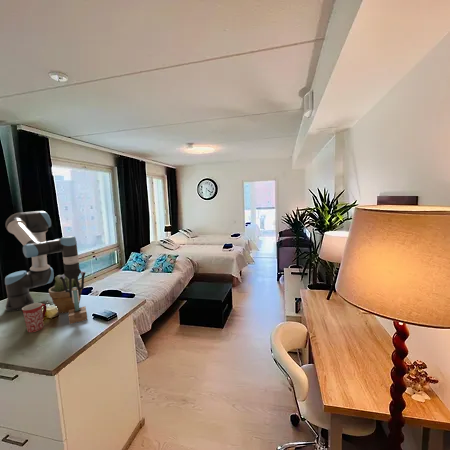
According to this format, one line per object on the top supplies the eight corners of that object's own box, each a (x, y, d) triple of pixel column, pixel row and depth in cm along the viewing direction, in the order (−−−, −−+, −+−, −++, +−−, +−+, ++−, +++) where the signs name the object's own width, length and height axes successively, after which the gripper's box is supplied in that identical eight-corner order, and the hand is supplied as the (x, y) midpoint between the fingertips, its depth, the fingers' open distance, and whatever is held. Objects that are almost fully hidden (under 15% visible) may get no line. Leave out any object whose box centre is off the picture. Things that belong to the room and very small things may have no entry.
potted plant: (66, 317, 155) (61, 278, 152) (44, 314, 161) (38, 276, 158) (90, 304, 172) (86, 268, 169) (70, 302, 178) (65, 267, 175)
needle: (75, 310, 153) (72, 287, 151) (79, 308, 154) (76, 286, 152) (75, 311, 150) (72, 288, 149) (79, 310, 152) (76, 287, 150)
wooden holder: (69, 318, 154) (68, 310, 154) (86, 313, 159) (85, 306, 158) (69, 324, 147) (68, 316, 146) (87, 319, 151) (86, 311, 151)
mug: (35, 334, 138) (31, 310, 136) (21, 333, 140) (17, 309, 138) (54, 322, 150) (51, 300, 148) (41, 321, 152) (38, 299, 150)
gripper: (55, 266, 141) (61, 307, 144) (86, 261, 149) (90, 300, 152) (56, 263, 148) (61, 302, 151) (85, 259, 156) (90, 296, 159)
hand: (76, 301), depth 151 cm, fingers closed on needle, 2 cm apart
